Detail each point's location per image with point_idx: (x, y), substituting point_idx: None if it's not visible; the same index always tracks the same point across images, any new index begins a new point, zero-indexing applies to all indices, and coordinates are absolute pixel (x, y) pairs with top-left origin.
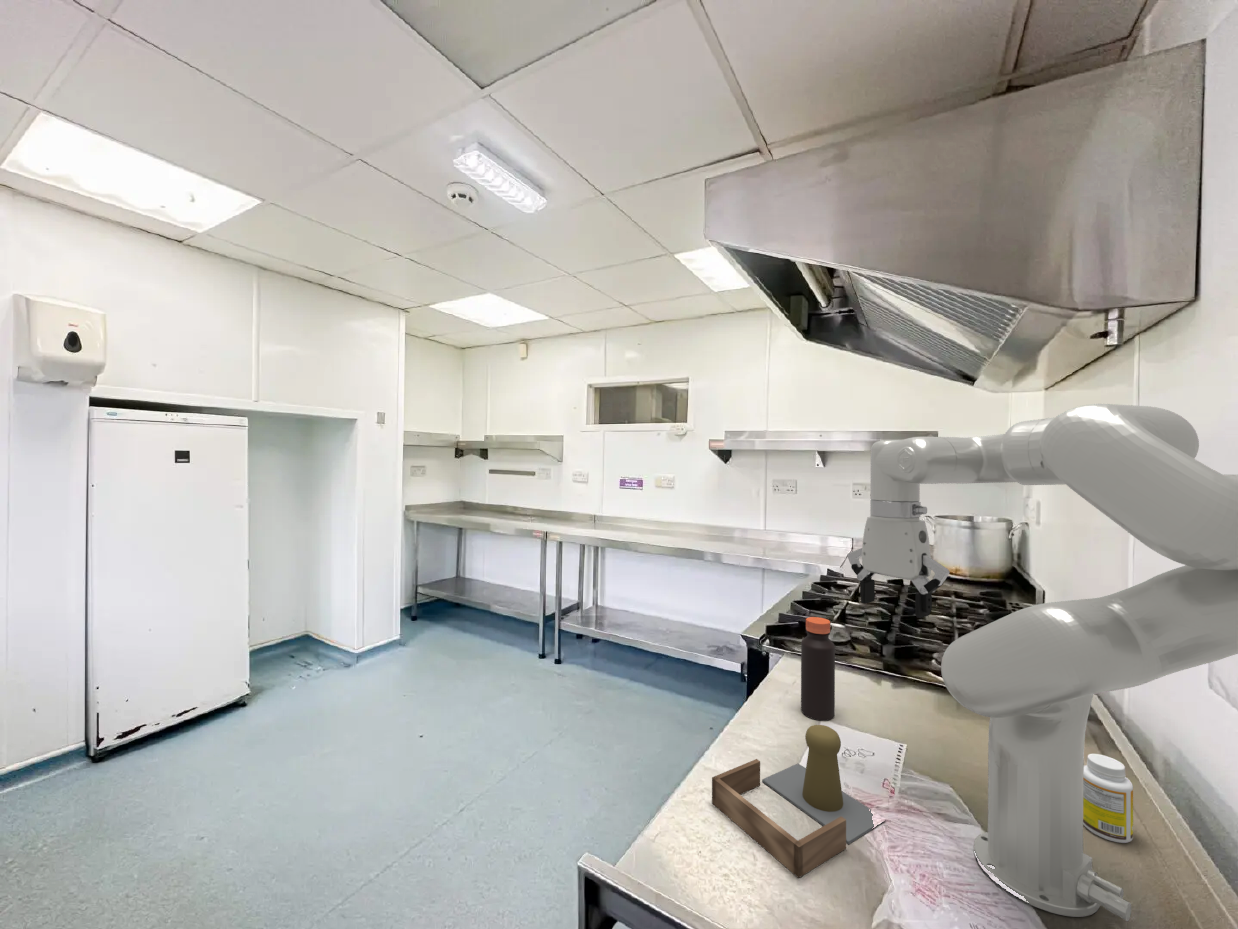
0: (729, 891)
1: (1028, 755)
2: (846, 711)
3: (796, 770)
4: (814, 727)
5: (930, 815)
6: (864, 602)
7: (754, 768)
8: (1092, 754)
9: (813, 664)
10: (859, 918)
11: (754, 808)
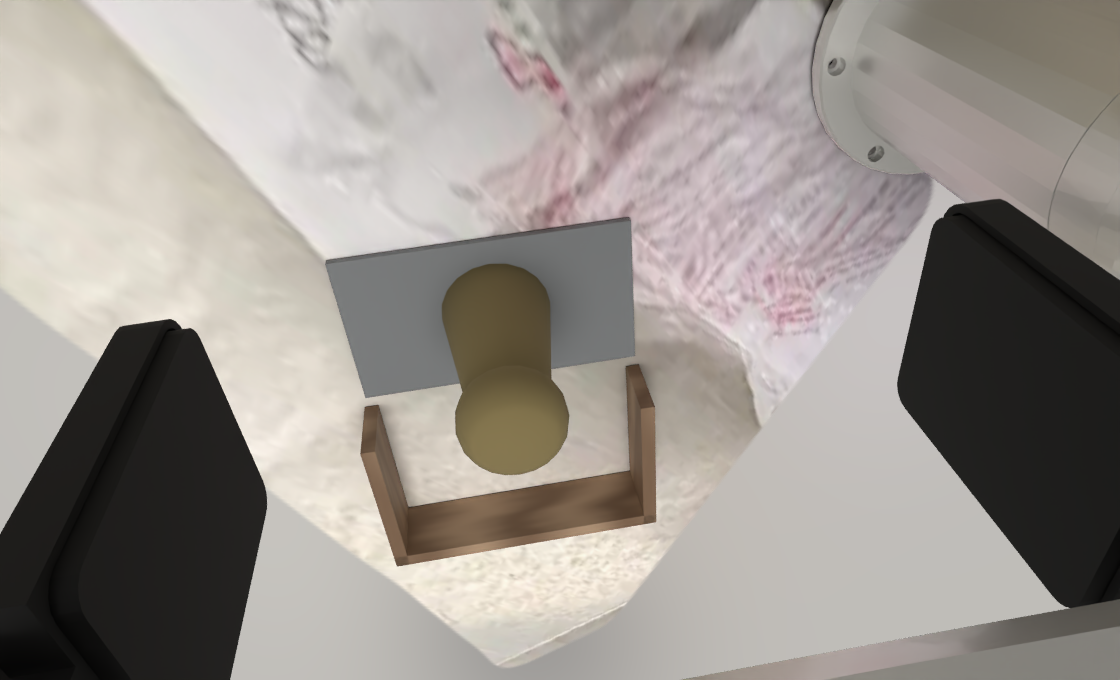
0: (603, 568)
1: None
2: None
3: (358, 292)
4: (492, 459)
5: (679, 74)
6: (259, 504)
7: (381, 459)
8: None
9: None
10: (748, 442)
11: (530, 539)
